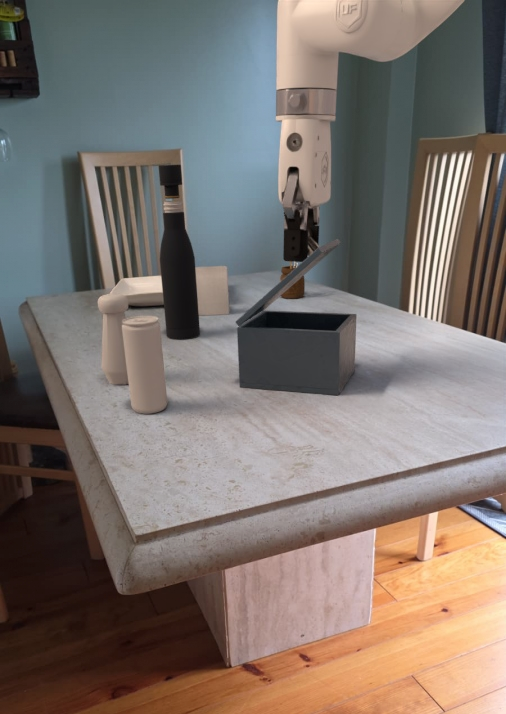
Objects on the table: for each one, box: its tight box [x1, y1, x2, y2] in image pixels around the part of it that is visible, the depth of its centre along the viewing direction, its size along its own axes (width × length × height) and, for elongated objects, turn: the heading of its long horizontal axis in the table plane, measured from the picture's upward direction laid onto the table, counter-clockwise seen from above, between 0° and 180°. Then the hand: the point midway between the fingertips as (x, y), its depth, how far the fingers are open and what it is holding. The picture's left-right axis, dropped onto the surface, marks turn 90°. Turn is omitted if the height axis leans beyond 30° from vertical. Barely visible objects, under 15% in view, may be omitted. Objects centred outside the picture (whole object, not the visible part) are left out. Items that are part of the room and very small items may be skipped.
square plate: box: [109, 275, 164, 307], centre depth 156 cm, size 27×27×4 cm
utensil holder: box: [279, 261, 306, 300], centre depth 150 cm, size 6×6×12 cm
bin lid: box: [235, 227, 342, 327], centre depth 87 cm, size 15×12×5 cm
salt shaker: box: [97, 293, 129, 386], centre depth 93 cm, size 6×6×13 cm
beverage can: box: [122, 315, 168, 415], centre depth 81 cm, size 5×5×12 cm
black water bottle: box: [158, 164, 201, 340], centre depth 114 cm, size 6×6×30 cm
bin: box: [236, 309, 357, 396], centre depth 91 cm, size 15×12×9 cm
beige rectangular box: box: [195, 265, 230, 316], centre depth 136 cm, size 4×7×10 cm, turn 90°
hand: (301, 256), depth 86 cm, fingers closed on bin lid, 5 cm apart
